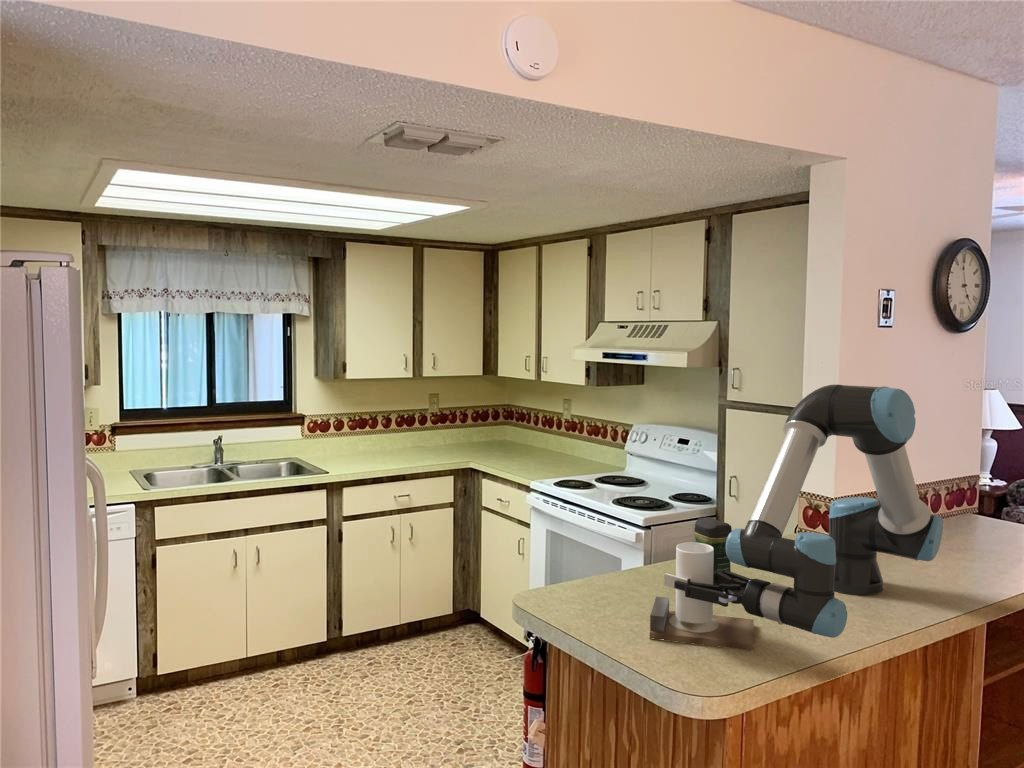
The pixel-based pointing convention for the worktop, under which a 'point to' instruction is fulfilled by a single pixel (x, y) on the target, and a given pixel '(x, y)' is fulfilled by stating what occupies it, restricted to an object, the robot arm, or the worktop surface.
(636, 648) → the worktop surface
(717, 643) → the board
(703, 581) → the cup
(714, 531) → the coffee jar
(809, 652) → the worktop surface
